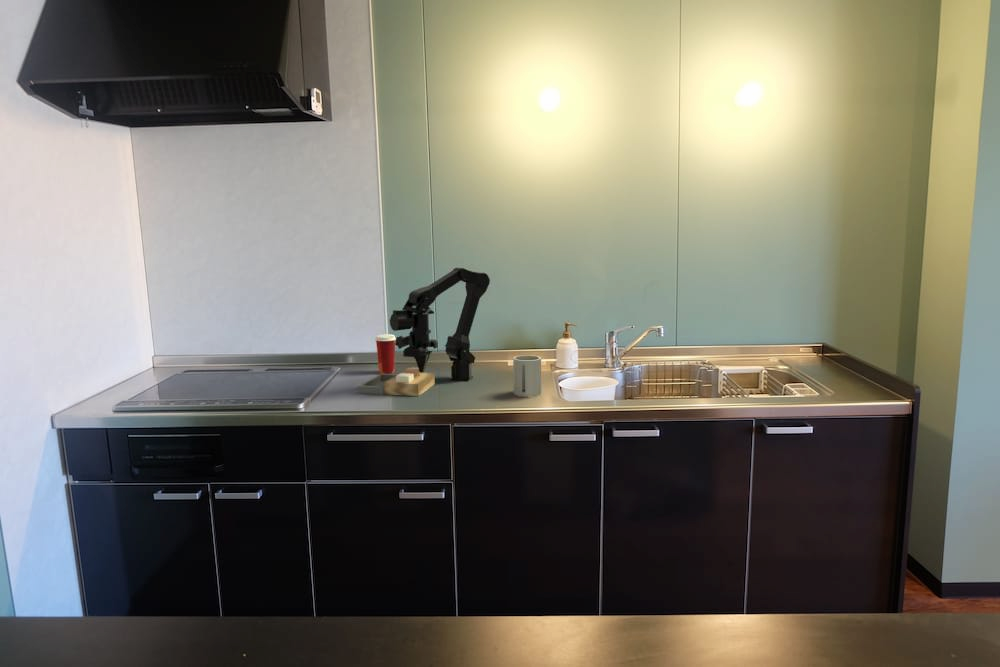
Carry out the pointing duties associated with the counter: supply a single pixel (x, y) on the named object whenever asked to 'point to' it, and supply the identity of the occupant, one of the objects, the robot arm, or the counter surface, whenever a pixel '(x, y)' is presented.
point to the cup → (527, 375)
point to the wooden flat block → (410, 385)
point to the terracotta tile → (413, 371)
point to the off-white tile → (404, 377)
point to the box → (374, 384)
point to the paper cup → (386, 353)
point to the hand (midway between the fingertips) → (421, 372)
